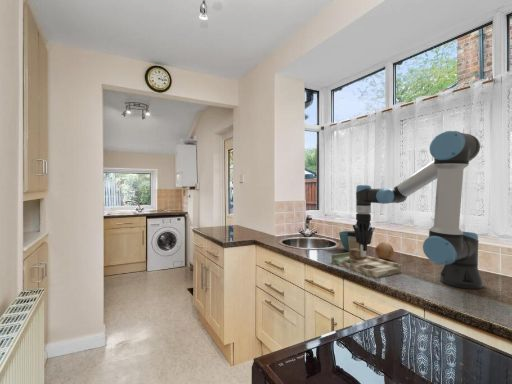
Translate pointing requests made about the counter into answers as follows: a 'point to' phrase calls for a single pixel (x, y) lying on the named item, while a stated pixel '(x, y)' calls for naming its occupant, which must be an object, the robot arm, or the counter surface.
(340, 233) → the plant pot
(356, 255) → the block
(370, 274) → the compartment tray
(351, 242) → the coffee cup
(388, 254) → the onion
